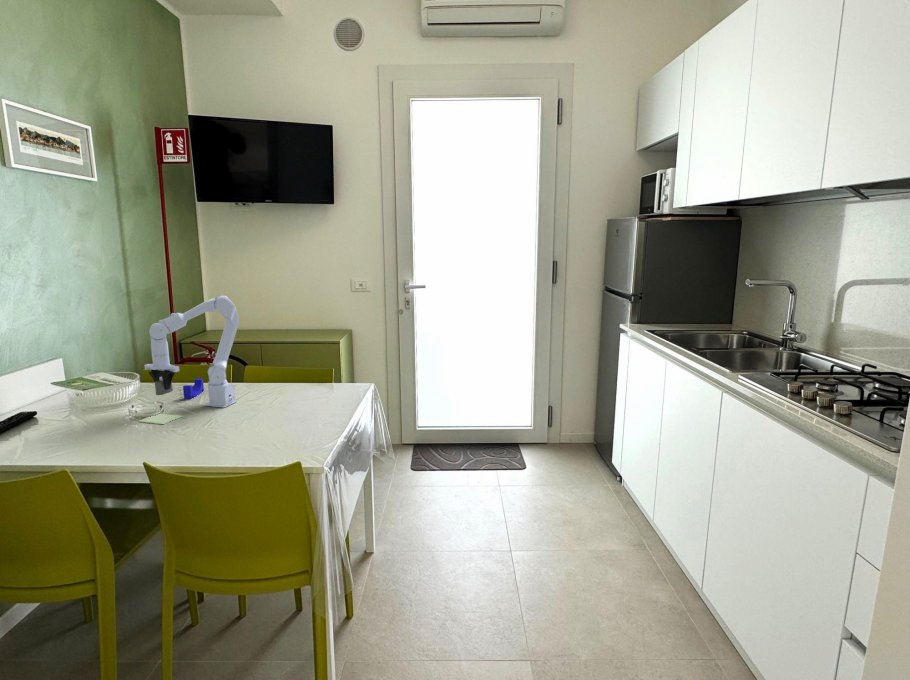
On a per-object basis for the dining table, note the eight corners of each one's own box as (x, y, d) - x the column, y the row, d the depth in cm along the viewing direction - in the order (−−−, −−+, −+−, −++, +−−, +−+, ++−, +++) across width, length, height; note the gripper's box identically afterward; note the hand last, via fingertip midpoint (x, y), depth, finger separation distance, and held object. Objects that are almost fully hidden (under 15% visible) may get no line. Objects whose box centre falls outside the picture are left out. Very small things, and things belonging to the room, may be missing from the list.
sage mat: (181, 416, 201) (181, 415, 201) (163, 424, 193) (163, 423, 193) (158, 414, 204) (157, 413, 204) (138, 421, 196) (138, 420, 196)
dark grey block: (174, 390, 210) (172, 374, 209) (160, 395, 204) (158, 379, 202) (168, 390, 211) (166, 374, 210) (154, 394, 204) (152, 378, 203)
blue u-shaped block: (193, 391, 235) (192, 378, 234) (204, 391, 235) (202, 378, 234) (180, 400, 223) (179, 386, 222) (191, 400, 223) (190, 386, 222)
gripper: (136, 355, 203) (140, 389, 205) (167, 357, 199) (171, 392, 201) (151, 351, 209) (155, 385, 212) (182, 353, 205) (185, 387, 208)
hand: (163, 388), depth 207 cm, fingers closed on dark grey block, 3 cm apart
